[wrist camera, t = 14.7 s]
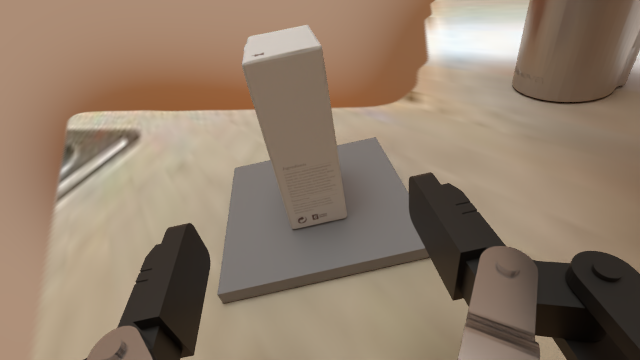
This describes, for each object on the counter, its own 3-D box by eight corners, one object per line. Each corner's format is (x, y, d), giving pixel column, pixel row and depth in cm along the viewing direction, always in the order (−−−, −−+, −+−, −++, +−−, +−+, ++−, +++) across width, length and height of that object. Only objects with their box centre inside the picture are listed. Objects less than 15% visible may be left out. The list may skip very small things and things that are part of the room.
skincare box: (349, 219, 23) (323, 45, 15) (291, 232, 23) (237, 63, 15) (334, 171, 27) (309, 22, 20) (286, 181, 27) (244, 36, 20)
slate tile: (376, 145, 31) (375, 137, 31) (437, 255, 20) (438, 244, 20) (238, 176, 31) (234, 168, 31) (223, 303, 20) (217, 294, 19)
